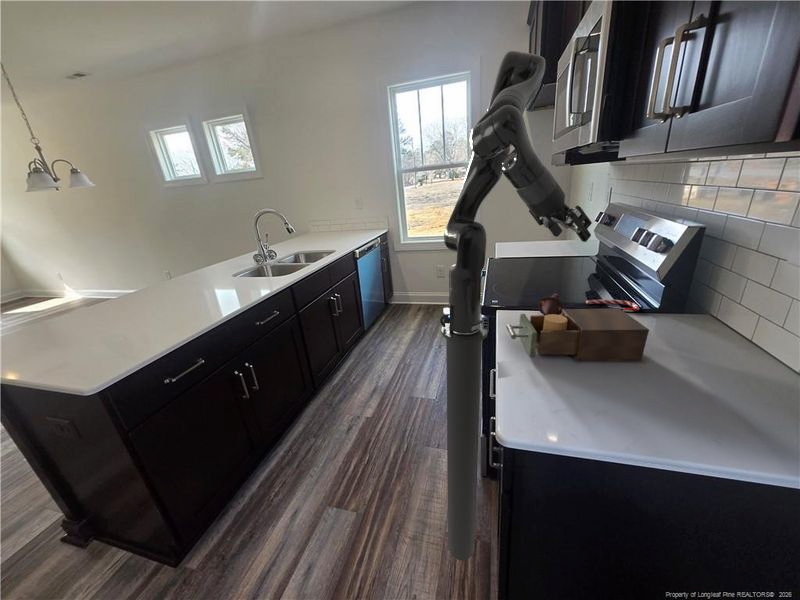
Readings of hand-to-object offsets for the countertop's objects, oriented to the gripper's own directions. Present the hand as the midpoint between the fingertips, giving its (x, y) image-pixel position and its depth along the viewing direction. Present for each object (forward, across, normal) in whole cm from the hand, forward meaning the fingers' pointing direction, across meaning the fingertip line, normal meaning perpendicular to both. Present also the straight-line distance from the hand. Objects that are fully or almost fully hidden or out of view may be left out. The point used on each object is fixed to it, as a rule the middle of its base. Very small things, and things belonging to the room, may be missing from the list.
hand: (572, 236), depth 78 cm
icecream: (+27, +13, +14) cm, 33 cm away
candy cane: (+43, +10, -2) cm, 44 cm away
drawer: (+14, -2, +25) cm, 29 cm away
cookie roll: (+14, -4, +23) cm, 28 cm away
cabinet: (+24, -8, +17) cm, 30 cm away
